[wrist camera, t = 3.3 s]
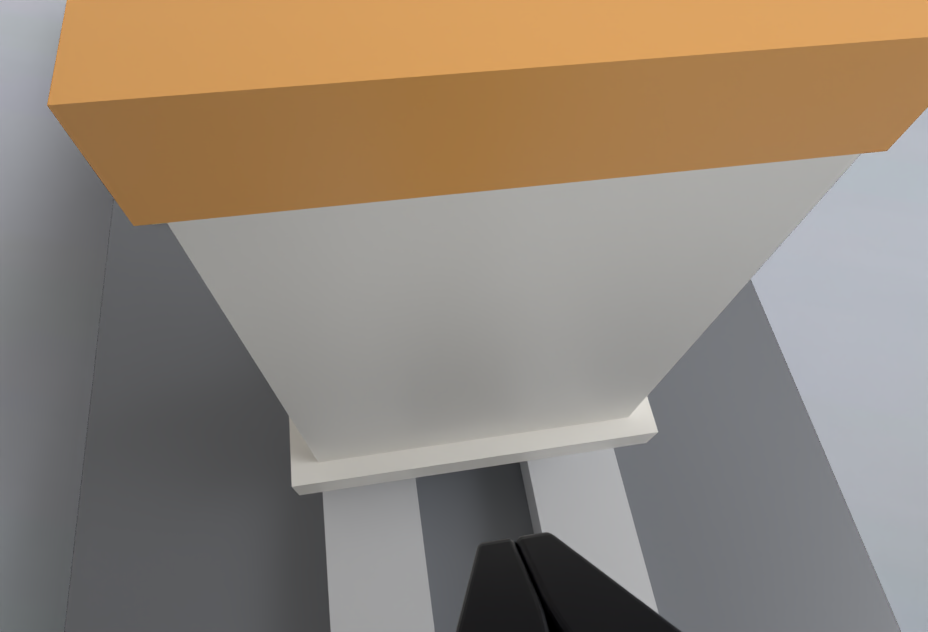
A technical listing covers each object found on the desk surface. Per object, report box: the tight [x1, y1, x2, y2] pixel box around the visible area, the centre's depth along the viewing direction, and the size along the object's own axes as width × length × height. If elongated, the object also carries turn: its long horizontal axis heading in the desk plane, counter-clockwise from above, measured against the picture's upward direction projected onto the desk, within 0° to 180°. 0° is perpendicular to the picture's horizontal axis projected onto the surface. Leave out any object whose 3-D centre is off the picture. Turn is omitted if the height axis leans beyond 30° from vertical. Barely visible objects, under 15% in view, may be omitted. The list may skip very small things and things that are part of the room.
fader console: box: [64, 199, 901, 632], centre depth 14 cm, size 30×14×3 cm, turn 9°
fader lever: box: [47, 0, 928, 495], centre depth 8 cm, size 3×6×9 cm, turn 99°
